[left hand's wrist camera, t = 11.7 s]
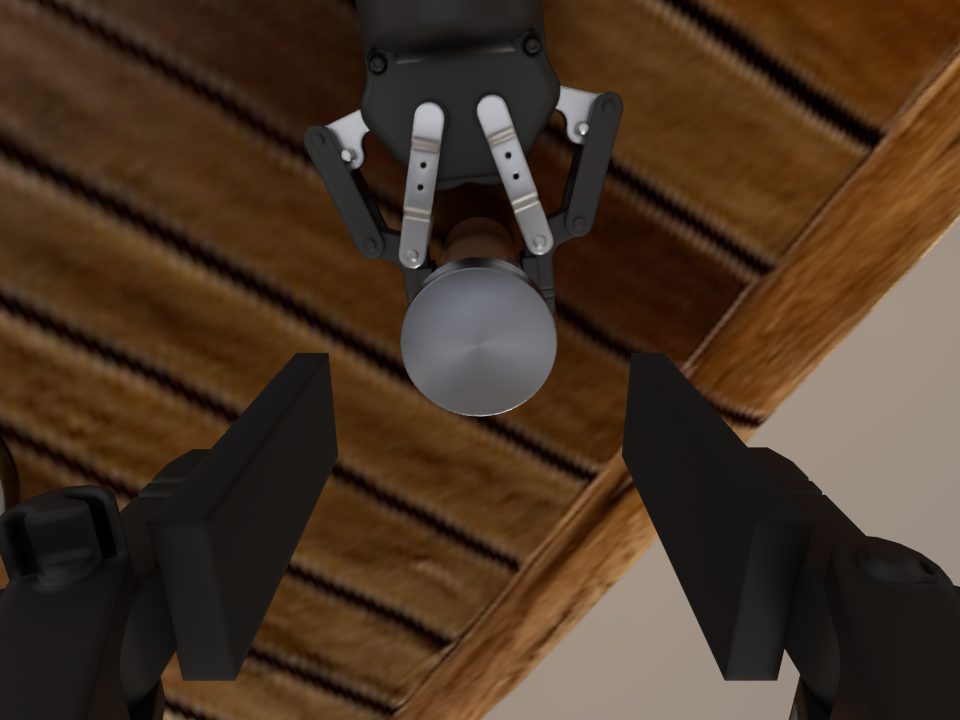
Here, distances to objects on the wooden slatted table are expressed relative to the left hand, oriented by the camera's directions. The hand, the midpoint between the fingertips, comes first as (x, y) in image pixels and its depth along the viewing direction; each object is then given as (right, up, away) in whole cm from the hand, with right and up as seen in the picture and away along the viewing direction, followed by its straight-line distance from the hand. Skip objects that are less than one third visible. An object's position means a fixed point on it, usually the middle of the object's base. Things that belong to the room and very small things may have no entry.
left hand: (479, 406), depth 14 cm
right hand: (0, +3, +15) cm, 15 cm away
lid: (0, +2, +5) cm, 5 cm away
